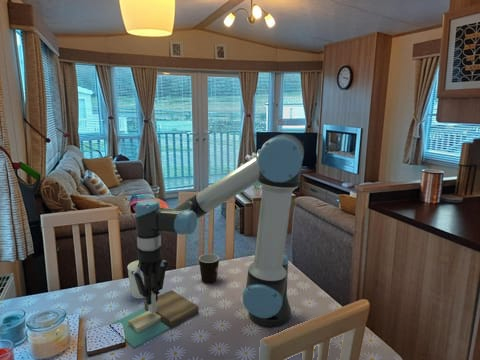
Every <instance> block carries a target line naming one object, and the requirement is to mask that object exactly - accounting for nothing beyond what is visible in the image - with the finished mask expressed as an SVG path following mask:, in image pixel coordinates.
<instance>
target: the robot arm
mask: <svg viewBox="0 0 480 360" xmlns="http://www.w3.org/2000/svg"><path fill="white" fill-rule="evenodd" d="M304 148H305V147H304V146H303V143H302V141H300V139H299V138H297V137H296V136H295V135H293V134H289V133H281V134H278V135H276V136H274V137H270V138H269V139H268V140H267V141H265V142H264V143H263V144H262V146H261V148H260V150H258V151H257V152H256V156H255V157H254V156H253V158H251V159H249V160H248V161H246V162H245V163H243V164H242V165H240V166H238V167H236V169H234V170H233V171H231V172H229V173H228V174H225V176H223V177H221V178H220V179H218V180H217V181H214V183H211V184H210V185H209V186H207V187H206V188H204V189H203V190H201V191H199V192H197V193H196V194H195V195H193V196H191V197H190V198H188V199H186V200H185V201H184V202H182V203H181V204H179V205H178V206H176V207H175V208H163V207H161V204H160V202H159V201H158V200H156V199H143V200H140V201H138V202H136V204H135V225H136V243H137V245H136V246H137V259H138V260H139V263H138V268H137V269H136V270H135V271H132V272H131V274H132V275H133V276H134V277H135V280H136V283H137V286H138V289H139V292H140V294H141V295H142V296H144V297H146V298H145V302H146V303H147V304H148V311H150V312H151V313H152V314H153V313H155V312H156V301H158V296H159V294H160V291H162V290H163V287H164V281H165V276H166V270H167V267H168V265H169V261H166V260H165V259H162V238H161V233H170V234H177V235H182V236H183V235H192V234H193V233H194V232H195V231H196V228H197V224H198V220H199V219H200V218H202V217H203V216H204V215H205V216H206V215H207V214H208V213H210V212H211V211H213V210H215V209H216V208H218V207H219V206H221V205H223V204H224V203H226V202H227V201H230V200H231V199H232V198H235V197H236V196H237V195H240V194H241V193H243V192H244V191H246V190H247V189H249V188H251V187H253V186H254V185H256V184H258V183H259V185H260V186H261V187H262V189H261V190H262V191H261V200H260V207H259V217H258V224H257V235H256V242H255V252H254V259H253V262H252V263H250V264H249V265H248V270H247V277H246V285H245V289H244V291H243V292H242V302H243V306H244V308H245V309H246V310H247V312H248V316H249V317H248V318H249V319H250V320H251V321H252V322H254V323H255V324H257V325H259V326H263V327H268V328H276V327H281V326H282V327H283V326H285V325H286V324H287V323H288V322H290V320H291V317H292V309H291V305H290V302H289V299H288V295H287V294H288V272H289V264H290V263H289V257H288V256H287V255H286V254H285V249H286V248H285V247H286V241H287V235H288V234H287V233H288V227H289V221H290V213H291V204H292V199H293V198H292V197H293V192H294V190H296V189H298V188H299V186H300V178H301V171H302V167H303V166H302V165H303V161H304V156H305V149H304ZM140 271H142V272H143V276H144V284H143V281H142V278H141V273H140Z"/></svg>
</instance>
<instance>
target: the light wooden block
mask: <svg viewBox="0 0 480 360" xmlns="http://www.w3.org/2000/svg"><path fill="white" fill-rule="evenodd" d="M160 321H161V316H160V315H158V314H157V313H156V312H155V313H153V314H152V313H151V312H150V311H148V312H145V313H143V314H141V315H139V316H137V317H135V318H133V319H131V320H129V321H128V325H129V326H130V327H131V328H133V329H134V330H135V331H136V332H137V333H139V332H140V331H142V330H144V329H146V328H148V327H150V326H152V325H154V324H156V323H158V322H160ZM161 322H162V321H161Z"/></svg>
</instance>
